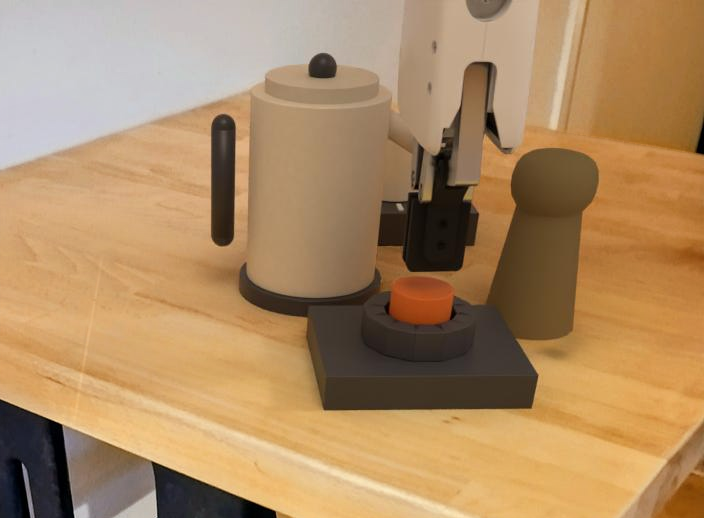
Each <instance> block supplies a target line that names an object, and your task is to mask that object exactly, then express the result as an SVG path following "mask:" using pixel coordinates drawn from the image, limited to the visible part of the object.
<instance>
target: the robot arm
mask: <svg viewBox="0 0 704 518" xmlns="http://www.w3.org/2000/svg"><path fill="white" fill-rule="evenodd" d="M539 8H540V0H404V5H403V14H402V15H403V16H402V24H401V34H400V45H399V54H398V55H399V57H398V58H399V59H398V68H397V69H398V71H397V92H396V93H397V95H396V97H397V107H398V113H399V114H400V115H401V117H402V119H403V121H404V122H405V124H406V125H407V127H408V128H409V130H410V131H411V133H412V134H413V136H414V138H413V152H412V166H411V181H410V182H411V190H419V191H418V192H408V202H407V212H406V221H405V231H404V241H403V245H402V252H401V259H402V261H403V263H404V264H405V267H406V268H407V270H408V271H409V272H411V273H441V272H442V273H443V272H446V273H449V272H458V271H460V270H461V269H462V268H463V266H464V260H465V255H466V254H465V253H466V246H467V245H466V240H467V233H468V225H469V218H470V211H471V204H473V198H474V193H475V188H476V187H478V186H479V184H480V180H481V172H482V161H483V145H484V138H485V136H486V137H487V138H488V140H490V142H492V144H494V146H495V147H496V148H497V149H498V150H499V151H500V152H501V153H502V154H503V155H513V154H514V153H515V152H516V151H518V150H519V149H520V147H521V146H522V144H523V141H524V135H525V128H526V121H527V113H528V105H529V98H530V88H531V80H532V72H533V64H534V55H535V48H536V47H535V46H536V37H537V30H538V29H537V28H538V20H539V10H540V9H539Z"/></svg>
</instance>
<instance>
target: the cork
mask: <svg viewBox="0 0 704 518" xmlns="http://www.w3.org/2000/svg"><path fill="white" fill-rule="evenodd" d="M599 173H600V170H599V167H598V164H597V162H596V161H595V160H594V158H592V157H590V155H588V154H586V153H584V152H582V151H577V150H574V149H570V148H569V149H568V148H563V147H561V148H560V147H545V148H537V149H532V150H529V151H528V152H526V153H524V154H522V155H521V157H520V158H519V159H518V160H517V162H516V163H515V166H514V168H513V171H512V173H511V178H510V195H511V197H512V200H513V201H514V203H515V207H514V210H513V213H512V217H511V221H510V224H509V226H508V230H507V233H506V237H505V240H504V243H503V246H502V249H501V252H500V256H499V258H498V263H497V265H496V268H495V272H494V276H493V279H492V282H491V285H490V289H489V291H488V294H487V297H486V301H485V304H484V305H495V306H496V308H497V309H498V311H499V312H500V314H501V316H502V317H503V319H504V320H505V322H506V324H507V325H508V327H509V329H510V330H511V332H512V333H513V335H514V337H515V338H516V340H517V339H518V340H526V341H551V340H558V339H560V338H563V337H567V336H568V335H569V334H570V333H571V332H573V330H574V320H575V307H576V297H577V296H576V295H577V282H578V271H579V258H580V247H581V235H582V223H583V222H582V221H583V213H584V211H585V210H586V209H587V208H588V207H589V206H590V205H591V204H592V203H593V201H594V199H595V196H596V194H597V191H598V187H599V181H600V174H599Z"/></svg>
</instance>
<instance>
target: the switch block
mask: <svg viewBox="0 0 704 518" xmlns="http://www.w3.org/2000/svg"><path fill="white" fill-rule="evenodd" d="M390 298H391V289H390V290H386V291H382V292H380V293H378V294H375V295H373V296H372V297H371V298H370V299H368V300H367V301H366V302H365V303H364V304H363V305H356V306H308V317H307V318H306V320H307V321H306V336H305V337H306V341H307V345H308V350H309V354H310V359H311V363H312V366H313V372H314V375H315V381H316V383H317V388H318V391H319V397H320V400H321V405H322V409H323V411H325V412H326V411H417V410H418V411H425V410H426V411H428V410H436V411H437V410H438V411H439V410H442V411H443V410H531V409H533V405H534V398H535V394H536V389H537V385H538V380H539V377H540V375H539V373H538V372H537V370H536V368H535V367H534V365H533V363H532V362H531V360H530V359H529V358H528V356H527V354H526V352H525V351H524V349H523V348H522V346H521V344H520V343H519V341H518V340H517V338H515V337H514V335H513V333H512V332H511V330H510V329H509V327H508V325H507V324H506V322H505V320H504V319H503V317H502V316H501V314H500V312H499V311H498V309H497V308H496V306H495V305H485V304H472V303H471V302H469V301H467V300H465V299H462V298H460V297H458V296H456V295H455V294H454V297H453V304H452V311H451V317H450V320H449V321H446V322H443V323H439V324H412V323H407V322H403V321H399V320H397V319H395V318H393V317H391V316H390V315H389V307H390Z"/></svg>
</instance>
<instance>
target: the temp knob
mask: <svg viewBox="0 0 704 518" xmlns="http://www.w3.org/2000/svg"><path fill="white" fill-rule="evenodd" d="M411 166H412V154H411V153H410V152H408V151H407V150H405V149H403V148H402V147H400V146H399V145H397V144H396V143H394V142H393V141H391V140H390V139H388V144H387V154H386V164H385V174H384V184H383V194H382V201H389V202H404V201H408V192H418V191H419V190H411V182H410V181H411Z"/></svg>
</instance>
